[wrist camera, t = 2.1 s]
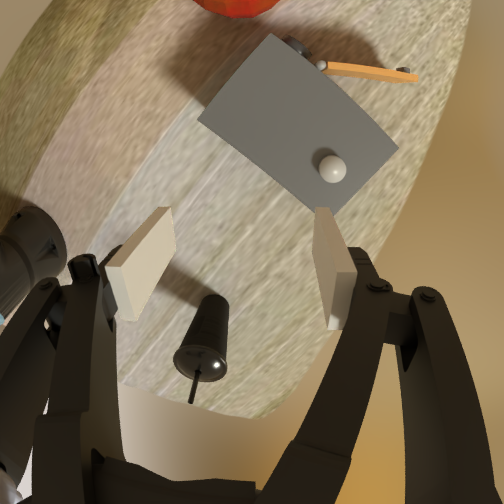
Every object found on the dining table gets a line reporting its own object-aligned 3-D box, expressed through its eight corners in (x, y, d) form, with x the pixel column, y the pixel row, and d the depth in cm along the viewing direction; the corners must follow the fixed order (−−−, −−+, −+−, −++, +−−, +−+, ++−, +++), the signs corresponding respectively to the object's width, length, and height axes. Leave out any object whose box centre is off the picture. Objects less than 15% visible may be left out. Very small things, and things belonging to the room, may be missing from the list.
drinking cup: (188, 312, 53) (156, 404, 35) (201, 280, 49) (167, 376, 32) (227, 328, 54) (209, 423, 36) (244, 298, 50) (229, 398, 33)
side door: (309, 74, 33) (316, 68, 27) (308, 60, 32) (316, 51, 26) (395, 83, 32) (418, 82, 26) (395, 70, 31) (418, 67, 25)
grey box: (213, 115, 37) (194, 120, 28) (279, 38, 31) (281, 19, 23) (316, 198, 42) (327, 226, 33) (382, 128, 36) (412, 139, 27)
